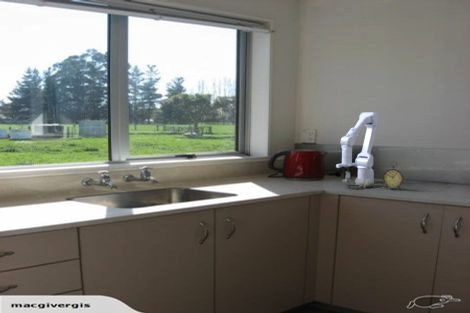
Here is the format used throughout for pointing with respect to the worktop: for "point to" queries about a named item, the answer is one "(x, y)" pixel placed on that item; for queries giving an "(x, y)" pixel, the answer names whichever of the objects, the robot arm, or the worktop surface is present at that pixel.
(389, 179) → the alarm clock
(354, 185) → the duct socket
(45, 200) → the worktop surface
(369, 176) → the robot arm
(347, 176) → the collar
